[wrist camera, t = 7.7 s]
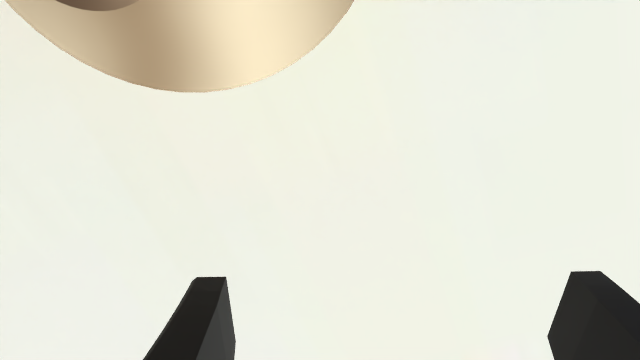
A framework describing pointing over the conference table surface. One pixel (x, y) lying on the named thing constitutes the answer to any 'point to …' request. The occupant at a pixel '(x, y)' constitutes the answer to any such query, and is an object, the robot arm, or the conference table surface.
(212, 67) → the lid
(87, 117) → the conference table surface
